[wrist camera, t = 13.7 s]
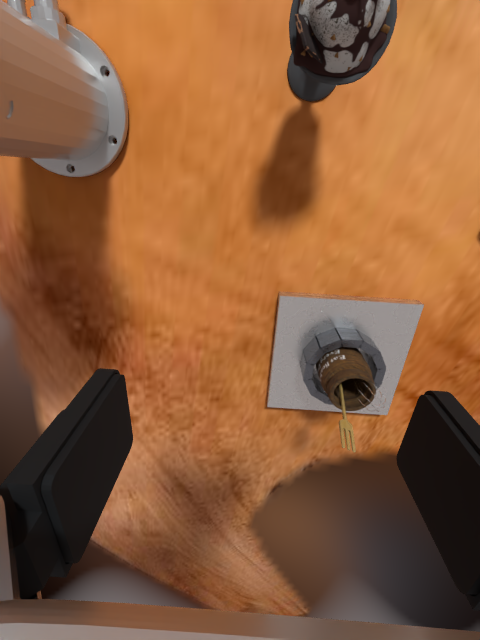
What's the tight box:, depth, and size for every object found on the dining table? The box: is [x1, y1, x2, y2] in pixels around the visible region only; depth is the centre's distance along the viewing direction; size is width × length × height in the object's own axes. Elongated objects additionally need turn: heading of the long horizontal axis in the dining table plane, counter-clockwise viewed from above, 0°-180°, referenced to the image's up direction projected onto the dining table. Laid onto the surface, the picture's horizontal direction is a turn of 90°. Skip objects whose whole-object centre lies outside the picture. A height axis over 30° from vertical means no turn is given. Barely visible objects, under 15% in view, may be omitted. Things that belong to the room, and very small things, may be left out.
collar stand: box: [267, 292, 424, 415], centre depth 39 cm, size 17×17×4 cm
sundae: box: [287, 0, 397, 101], centre depth 22 cm, size 7×7×15 cm
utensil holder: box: [316, 347, 386, 452], centre depth 35 cm, size 6×6×12 cm
